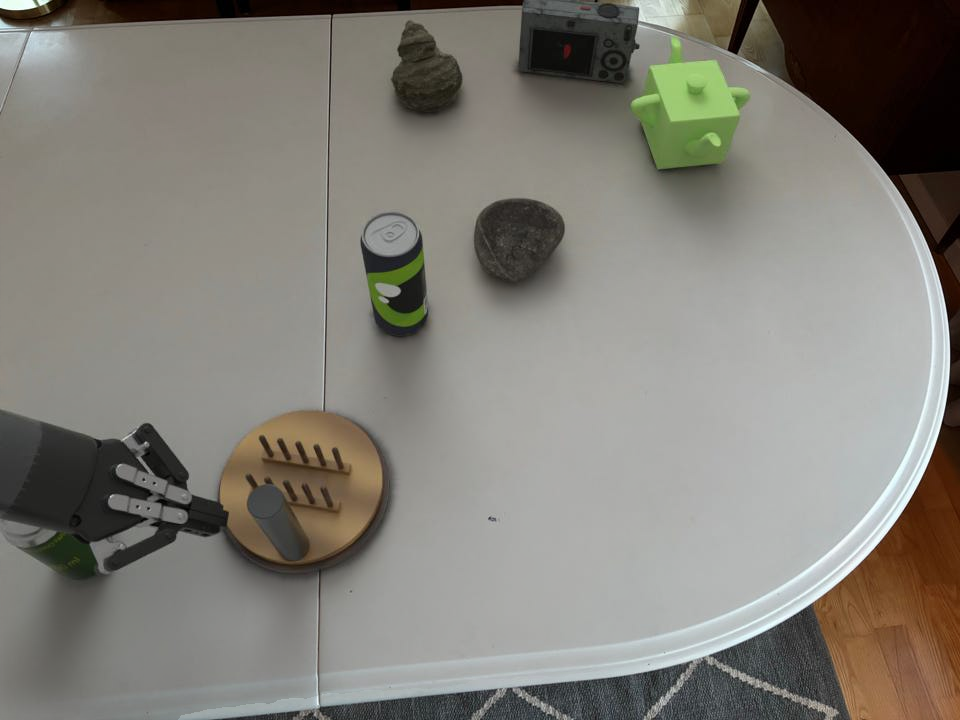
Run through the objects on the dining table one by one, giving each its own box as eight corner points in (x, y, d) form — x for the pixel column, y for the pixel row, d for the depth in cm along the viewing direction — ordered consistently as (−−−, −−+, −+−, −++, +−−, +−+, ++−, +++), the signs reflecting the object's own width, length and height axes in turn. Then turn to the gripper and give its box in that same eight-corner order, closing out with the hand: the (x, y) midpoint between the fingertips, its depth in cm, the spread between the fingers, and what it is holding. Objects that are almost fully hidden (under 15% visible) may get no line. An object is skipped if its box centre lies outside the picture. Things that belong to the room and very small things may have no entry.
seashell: (466, 20, 109) (394, 16, 109) (464, 26, 99) (383, 22, 98) (464, 105, 114) (394, 102, 114) (461, 119, 104) (385, 116, 103)
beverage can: (400, 285, 94) (389, 199, 81) (439, 314, 92) (434, 230, 79) (363, 318, 91) (345, 235, 78) (402, 349, 89) (391, 268, 76)
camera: (634, 67, 114) (647, 5, 105) (632, 86, 112) (645, 24, 103) (521, 54, 115) (525, -9, 106) (517, 72, 113) (521, 10, 104)
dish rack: (361, 578, 75) (341, 533, 63) (199, 549, 76) (151, 500, 65) (398, 427, 83) (387, 364, 71) (251, 403, 84) (217, 337, 73)
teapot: (658, 92, 111) (675, 26, 102) (746, 130, 107) (772, 65, 98) (606, 158, 104) (619, 94, 95) (699, 201, 101) (721, 138, 92)
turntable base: (239, 599, 75) (236, 596, 74) (207, 444, 83) (203, 440, 82) (410, 539, 78) (409, 535, 77) (363, 396, 86) (362, 390, 85)
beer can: (103, 517, 79) (47, 471, 69) (125, 561, 77) (70, 519, 66) (50, 548, 77) (-15, 505, 67) (71, 593, 75) (7, 556, 65)
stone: (561, 293, 93) (566, 268, 89) (471, 289, 93) (471, 263, 89) (561, 220, 99) (565, 192, 95) (476, 216, 99) (476, 188, 95)
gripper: (2, 544, 53) (233, 591, 63) (56, 371, 59) (257, 440, 70) (-34, 565, 57) (188, 606, 68) (20, 403, 64) (214, 463, 75)
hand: (223, 522), depth 69 cm, fingers closed
